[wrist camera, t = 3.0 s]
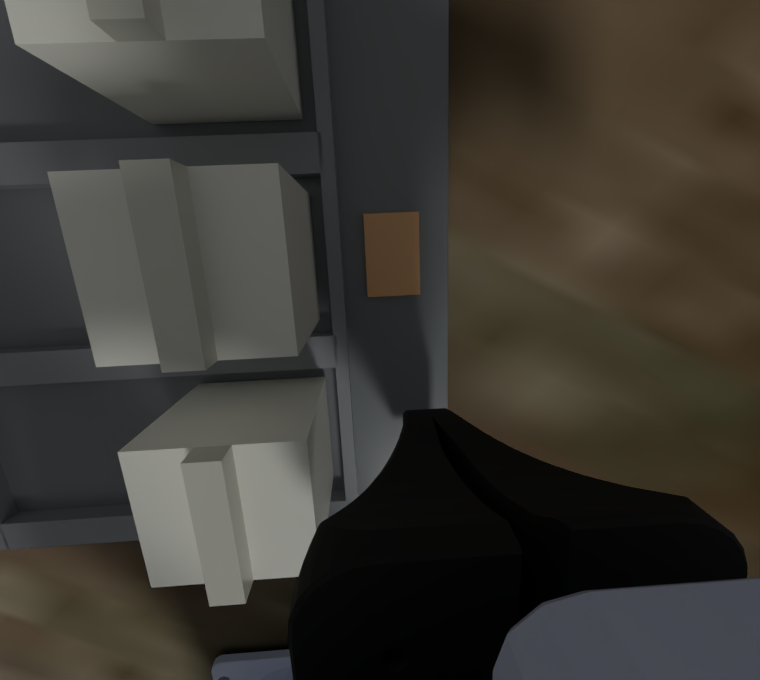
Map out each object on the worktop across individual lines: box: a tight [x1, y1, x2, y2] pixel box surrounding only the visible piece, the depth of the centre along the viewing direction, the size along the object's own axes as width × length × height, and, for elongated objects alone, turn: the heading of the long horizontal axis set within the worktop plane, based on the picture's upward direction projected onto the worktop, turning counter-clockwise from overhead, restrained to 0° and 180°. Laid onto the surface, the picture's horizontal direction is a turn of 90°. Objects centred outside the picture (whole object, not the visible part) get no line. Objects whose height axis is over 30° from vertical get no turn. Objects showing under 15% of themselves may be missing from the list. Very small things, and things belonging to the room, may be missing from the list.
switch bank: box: [0, 0, 449, 550], centre depth 11 cm, size 19×18×2 cm
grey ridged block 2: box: [47, 159, 320, 373], centre depth 9 cm, size 4×4×5 cm
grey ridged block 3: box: [117, 377, 334, 607], centre depth 10 cm, size 4×4×5 cm
